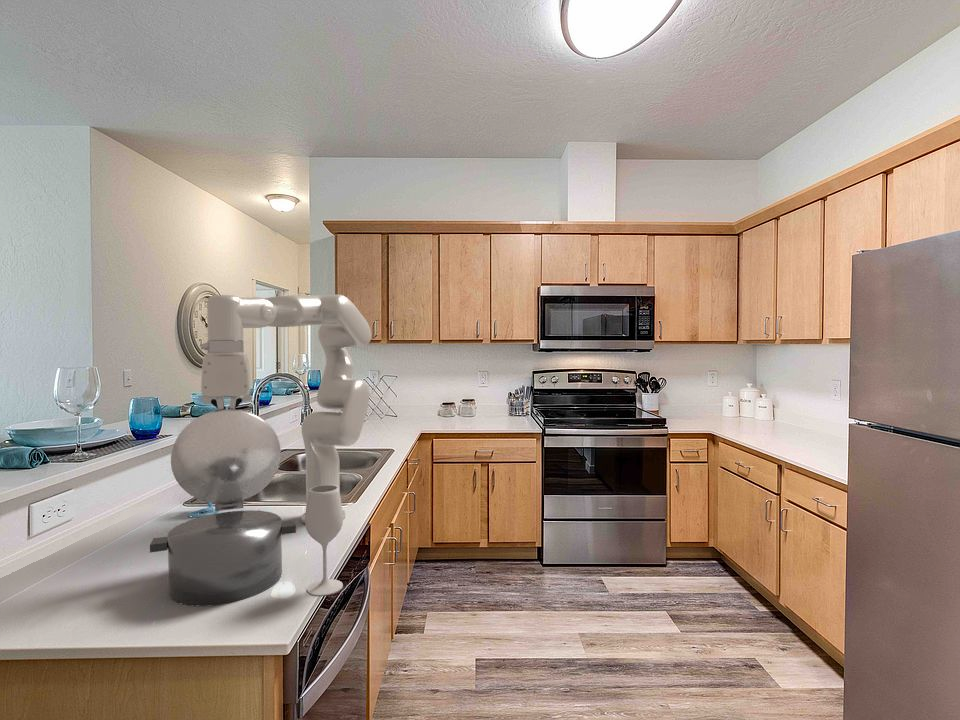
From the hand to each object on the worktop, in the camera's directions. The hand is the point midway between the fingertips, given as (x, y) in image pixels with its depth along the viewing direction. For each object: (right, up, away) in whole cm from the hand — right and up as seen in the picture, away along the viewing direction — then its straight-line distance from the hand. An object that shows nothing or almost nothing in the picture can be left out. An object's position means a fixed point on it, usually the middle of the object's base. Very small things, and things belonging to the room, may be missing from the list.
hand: (227, 426), depth 123 cm
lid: (+1, -8, -1) cm, 8 cm away
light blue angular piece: (-25, -32, +39) cm, 56 cm away
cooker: (+4, -32, -9) cm, 34 cm away
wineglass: (+27, -33, -12) cm, 44 cm away
